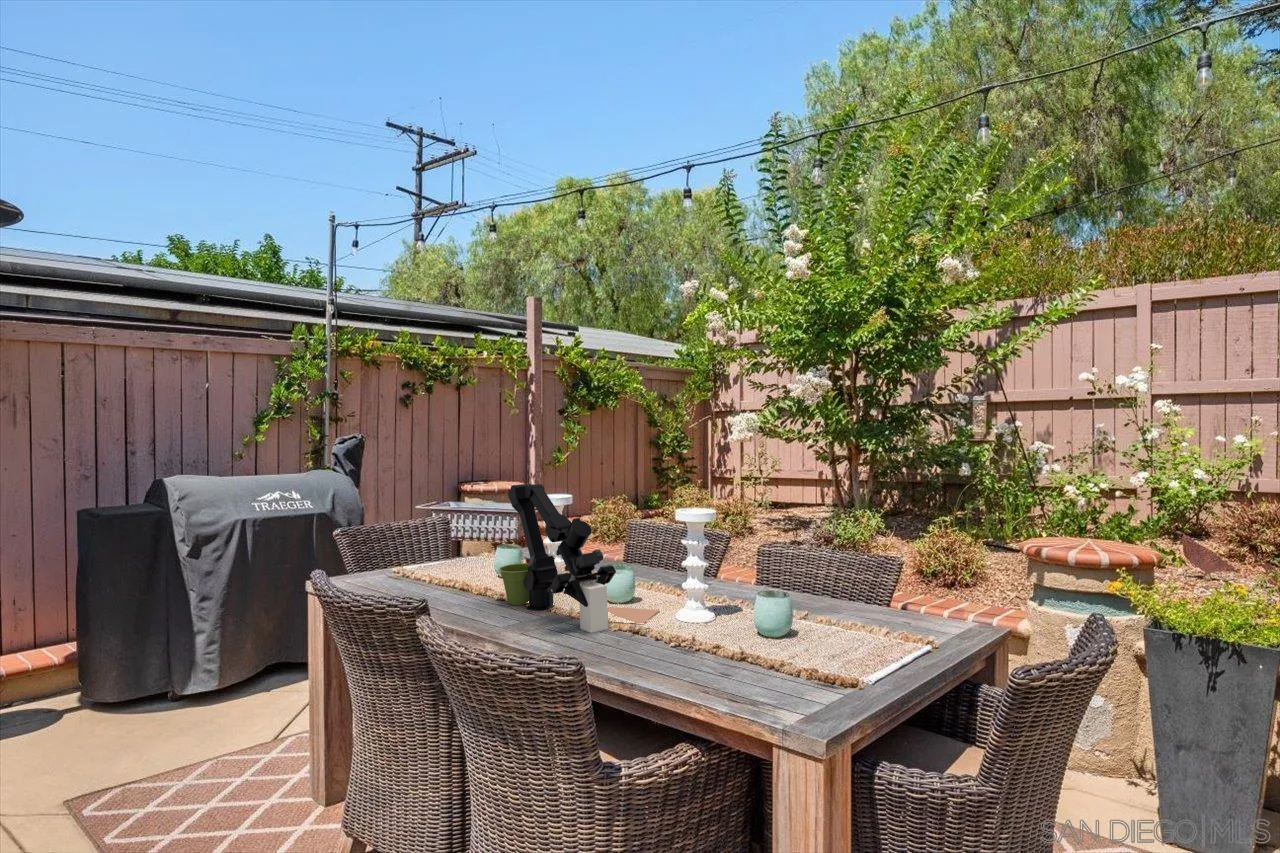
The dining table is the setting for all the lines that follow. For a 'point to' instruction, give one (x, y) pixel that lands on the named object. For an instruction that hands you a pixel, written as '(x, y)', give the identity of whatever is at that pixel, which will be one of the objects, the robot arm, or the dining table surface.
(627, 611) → the terracotta mat
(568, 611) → the dining table surface
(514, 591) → the plant pot
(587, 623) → the cream block
